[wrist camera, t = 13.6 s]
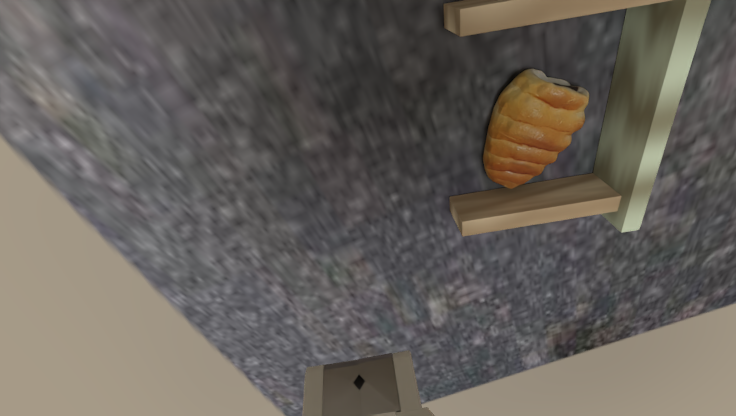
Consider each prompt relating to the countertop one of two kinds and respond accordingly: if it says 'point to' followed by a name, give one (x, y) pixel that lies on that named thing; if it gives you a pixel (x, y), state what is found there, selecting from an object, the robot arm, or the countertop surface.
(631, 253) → the countertop surface
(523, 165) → the pastry
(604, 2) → the wooden wall rack
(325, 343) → the countertop surface
